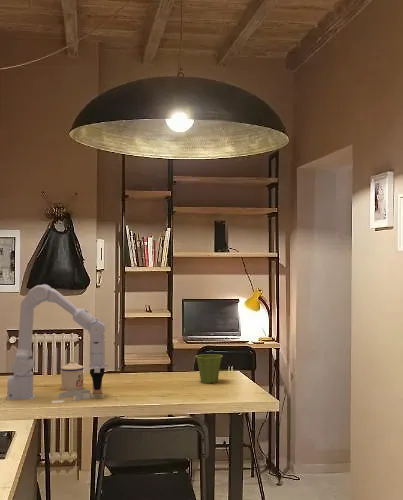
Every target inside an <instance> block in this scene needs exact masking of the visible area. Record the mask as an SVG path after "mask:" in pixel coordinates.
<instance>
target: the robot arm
mask: <svg viewBox="0 0 403 500" xmlns="http://www.w3.org/2000/svg"><path fill="white" fill-rule="evenodd" d="M44 302H47V303H52V304H53V303H54V304H57V305H58V306H59V307H61V308H62V309H63V310H65V311H66V312H68V313H69V314H70V315H72V319H73V321H74V322H75V323H77V325H79V326H80V327H82V329H84V330H85V331H87V332H88V334H89V366H88V367H89V368H91V369H89V374H90V377H91V379H92V386H93V385H94V389H95V390H100V388H101V382H102V383H103V377H104V375H105V372H106V371H105V367H109V364H108V363H106V360H105V359H106V353H105V351H106V350H105V349H106V344H105V343H106V341H105V333H106V325H105V323H104V322H103V321H102V320H99V318H98V317H94V316H93V315H92V314H91V313H90V312H89V310H88V309H87V308H83V307H82V308H78V307H77V306H75V305H74V304H73V303H72V302H71V301H70V300H69V299H67V298H66V297H65V296H64V295H63V294H62V293H61V292H59V291H58V290H56V289H55V288H54V287H53V288H52V287H51V286H50V285H48V284H46V283H43V284H38V285H35V286H34V287H32V288H31V289H29V291H28V292H27V294H26V295H25V296H24V298H23V299H22V301H21V302H20V308H19V309H20V311H19V324H18V325H19V326H18V327H19V328H18V342H17V343H18V344H17V345H18V346H17V352H16V354H15V358H14V362H13V364H12V365H11V366H12V367H11V368H12V372H13V375H8V377H7V383H6V384H7V388H6V389H7V401H9V400H10V401H14V400H17V401H18V400H33V399H34V398H35V396H36V394H34V372H33V369H34V368H35V360H34V358H33V357H34V356H33V350H32V349H33V348H32V346H33V329H34V327H33V326H34V314H35V313H34V312H35V308H36V307H38V306H39V305H40V304H42V303H44Z"/></svg>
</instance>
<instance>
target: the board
mask: <svg viewBox="0 0 403 500" xmlns="http://www.w3.org/2000/svg"><path fill="white" fill-rule="evenodd" d="M95 398H96V399H97V398H99V399H100V398H105V394H99V395H94V394H90V399H95ZM63 403H65V399H60V400H59V399H57V400H56V399H55V400H51V404H63Z"/></svg>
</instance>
